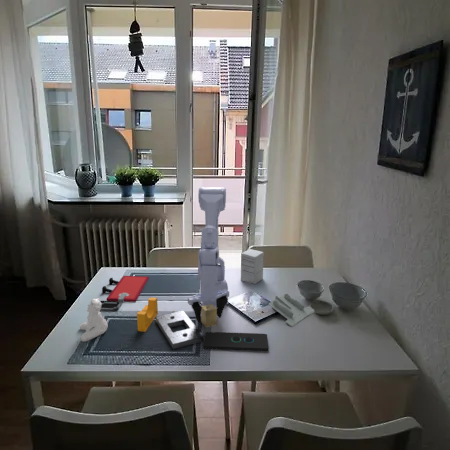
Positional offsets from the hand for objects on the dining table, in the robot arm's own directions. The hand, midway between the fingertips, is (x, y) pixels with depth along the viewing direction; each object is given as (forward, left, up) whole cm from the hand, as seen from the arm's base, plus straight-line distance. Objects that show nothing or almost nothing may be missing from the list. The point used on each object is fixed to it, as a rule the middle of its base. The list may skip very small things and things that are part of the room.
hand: (208, 318), depth 127 cm
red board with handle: (+22, -36, -2) cm, 42 cm away
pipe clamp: (+19, -10, -2) cm, 22 cm away
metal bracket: (-29, +6, -2) cm, 30 cm away
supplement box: (-32, -25, -2) cm, 41 cm away
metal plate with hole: (+11, 0, -2) cm, 11 cm away
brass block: (0, 0, -2) cm, 2 cm away
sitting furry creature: (+36, -11, -2) cm, 38 cm away
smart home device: (-3, +14, -2) cm, 15 cm away
